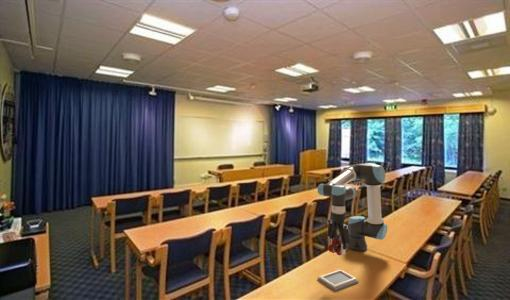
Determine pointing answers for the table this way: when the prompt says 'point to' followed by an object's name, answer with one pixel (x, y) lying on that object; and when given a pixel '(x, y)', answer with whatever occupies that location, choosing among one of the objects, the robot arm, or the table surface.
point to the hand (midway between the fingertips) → (337, 251)
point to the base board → (338, 280)
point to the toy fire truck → (336, 245)
